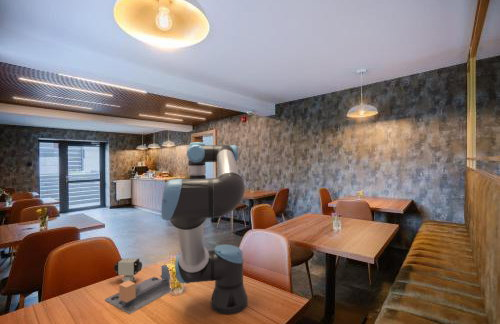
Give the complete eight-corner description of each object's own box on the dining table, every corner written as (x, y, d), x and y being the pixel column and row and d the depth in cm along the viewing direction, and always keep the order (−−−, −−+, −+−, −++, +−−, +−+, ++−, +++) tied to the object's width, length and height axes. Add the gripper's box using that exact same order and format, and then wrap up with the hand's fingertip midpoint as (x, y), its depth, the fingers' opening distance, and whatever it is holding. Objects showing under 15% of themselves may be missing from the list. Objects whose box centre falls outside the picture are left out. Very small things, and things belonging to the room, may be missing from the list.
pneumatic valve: (138, 284, 119) (137, 260, 119) (114, 284, 119) (113, 260, 119) (143, 279, 125) (142, 255, 125) (120, 279, 125) (120, 255, 125)
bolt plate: (177, 287, 116) (177, 285, 116) (129, 314, 96) (129, 312, 96) (153, 278, 126) (153, 276, 126) (105, 300, 106) (105, 298, 106)
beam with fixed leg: (172, 284, 118) (171, 266, 118) (126, 308, 99) (126, 287, 99) (163, 280, 121) (163, 264, 121) (118, 303, 102) (117, 283, 102)
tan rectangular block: (135, 302, 102) (135, 283, 102) (126, 307, 98) (126, 287, 98) (126, 298, 105) (126, 279, 105) (117, 302, 102) (117, 283, 102)
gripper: (201, 173, 126) (202, 219, 126) (181, 175, 115) (182, 225, 115) (212, 174, 122) (213, 221, 122) (193, 175, 111) (194, 227, 111)
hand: (198, 223), depth 118 cm, fingers closed
